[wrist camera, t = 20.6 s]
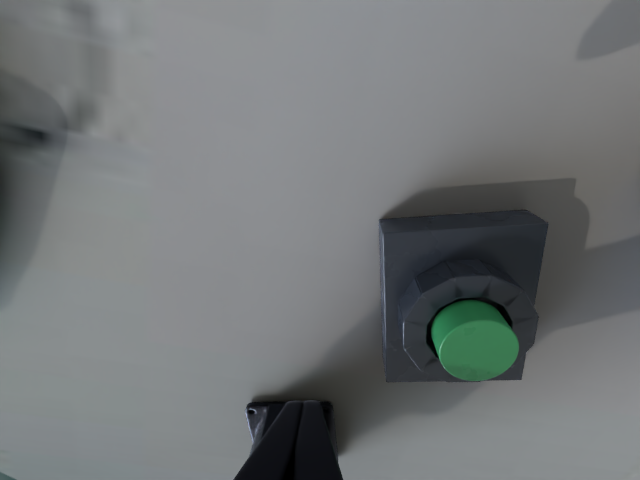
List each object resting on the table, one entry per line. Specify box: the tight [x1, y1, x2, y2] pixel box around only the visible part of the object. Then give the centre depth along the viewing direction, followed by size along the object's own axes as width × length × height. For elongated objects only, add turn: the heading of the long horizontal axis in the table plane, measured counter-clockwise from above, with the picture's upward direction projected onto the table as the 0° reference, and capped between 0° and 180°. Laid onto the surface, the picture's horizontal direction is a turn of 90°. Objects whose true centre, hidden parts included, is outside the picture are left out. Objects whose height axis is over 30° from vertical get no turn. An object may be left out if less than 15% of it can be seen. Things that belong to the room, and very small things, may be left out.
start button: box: [431, 300, 519, 381], centre depth 16 cm, size 4×4×2 cm
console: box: [379, 210, 548, 382], centre depth 19 cm, size 10×8×4 cm
